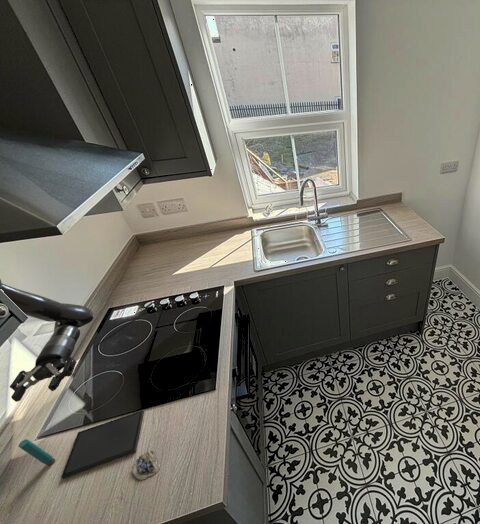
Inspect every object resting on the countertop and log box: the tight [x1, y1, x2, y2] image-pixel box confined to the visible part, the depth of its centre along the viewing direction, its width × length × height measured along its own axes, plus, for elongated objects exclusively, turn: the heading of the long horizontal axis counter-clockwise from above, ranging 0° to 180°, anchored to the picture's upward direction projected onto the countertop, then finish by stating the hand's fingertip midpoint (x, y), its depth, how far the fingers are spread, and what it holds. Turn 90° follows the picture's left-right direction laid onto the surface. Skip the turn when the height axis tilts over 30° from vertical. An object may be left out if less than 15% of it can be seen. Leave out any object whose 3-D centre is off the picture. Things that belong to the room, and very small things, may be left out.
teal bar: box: [17, 438, 56, 467], centre depth 81 cm, size 2×2×12 cm
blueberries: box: [131, 450, 161, 481], centre depth 82 cm, size 7×8×2 cm
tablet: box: [60, 410, 145, 480], centre depth 88 cm, size 18×13×1 cm
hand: (33, 394), depth 85 cm, fingers open, 8 cm apart
